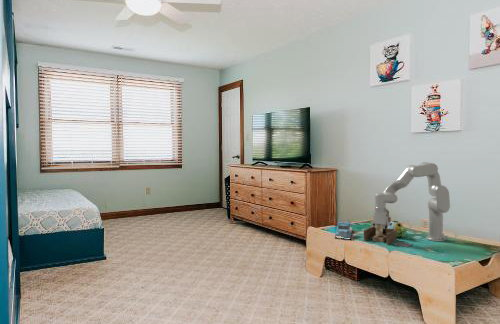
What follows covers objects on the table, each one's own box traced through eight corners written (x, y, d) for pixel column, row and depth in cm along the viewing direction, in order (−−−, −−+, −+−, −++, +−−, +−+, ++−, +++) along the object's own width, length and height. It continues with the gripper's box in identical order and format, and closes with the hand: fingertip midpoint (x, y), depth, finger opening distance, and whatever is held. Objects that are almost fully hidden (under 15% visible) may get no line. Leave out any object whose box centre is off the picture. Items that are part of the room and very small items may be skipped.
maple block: (384, 234, 273) (384, 224, 272) (382, 236, 269) (382, 225, 269) (378, 233, 276) (378, 223, 276) (375, 235, 272) (375, 224, 272)
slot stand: (396, 240, 274) (396, 229, 273) (387, 245, 261) (388, 234, 260) (373, 235, 286) (373, 226, 285) (363, 240, 273) (363, 230, 273)
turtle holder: (398, 240, 272) (398, 225, 271) (383, 234, 289) (383, 220, 289) (412, 239, 275) (412, 224, 274) (396, 233, 292) (397, 219, 292)
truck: (334, 239, 279) (334, 220, 278) (337, 230, 306) (337, 212, 305) (350, 240, 275) (351, 221, 274) (352, 231, 303) (352, 213, 302)
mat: (412, 244, 262) (412, 243, 262) (407, 247, 254) (407, 246, 254) (398, 241, 269) (398, 241, 269) (393, 244, 261) (393, 244, 261)
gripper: (393, 210, 269) (393, 234, 270) (371, 207, 280) (371, 230, 281) (389, 211, 263) (389, 236, 264) (367, 209, 274) (367, 232, 275)
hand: (380, 233), depth 273 cm, fingers closed on maple block, 5 cm apart
